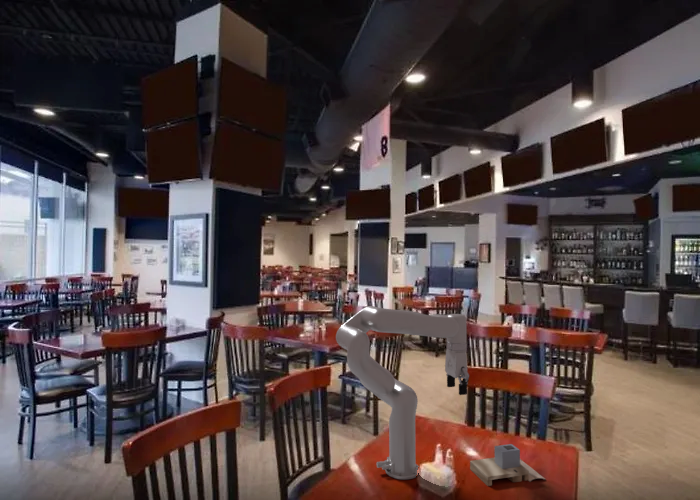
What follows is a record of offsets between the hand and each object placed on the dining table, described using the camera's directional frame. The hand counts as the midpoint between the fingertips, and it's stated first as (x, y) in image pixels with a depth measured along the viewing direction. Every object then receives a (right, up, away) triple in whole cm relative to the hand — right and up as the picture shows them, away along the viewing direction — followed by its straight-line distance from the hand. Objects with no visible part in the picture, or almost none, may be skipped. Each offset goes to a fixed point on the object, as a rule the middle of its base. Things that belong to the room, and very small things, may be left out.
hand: (456, 390), depth 173 cm
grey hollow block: (+15, -23, -12) cm, 30 cm away
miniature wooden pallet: (+12, -26, -13) cm, 31 cm away
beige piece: (+21, -27, -6) cm, 35 cm away
